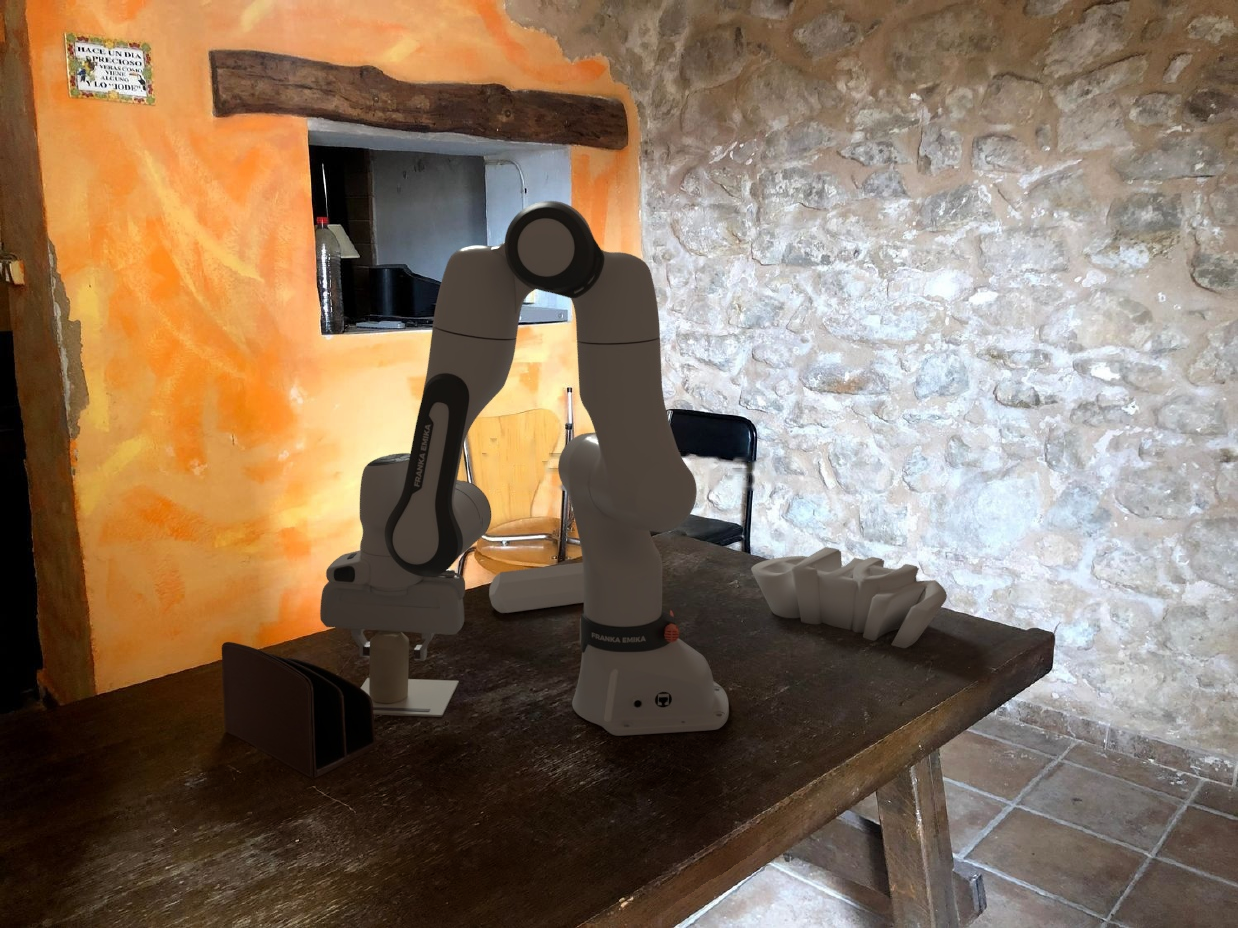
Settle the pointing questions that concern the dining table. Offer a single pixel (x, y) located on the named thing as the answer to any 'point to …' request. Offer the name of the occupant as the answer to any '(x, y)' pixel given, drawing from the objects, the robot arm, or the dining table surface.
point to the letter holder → (295, 710)
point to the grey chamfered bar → (537, 588)
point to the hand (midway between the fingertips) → (393, 657)
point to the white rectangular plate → (418, 699)
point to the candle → (388, 666)
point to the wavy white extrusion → (851, 594)
